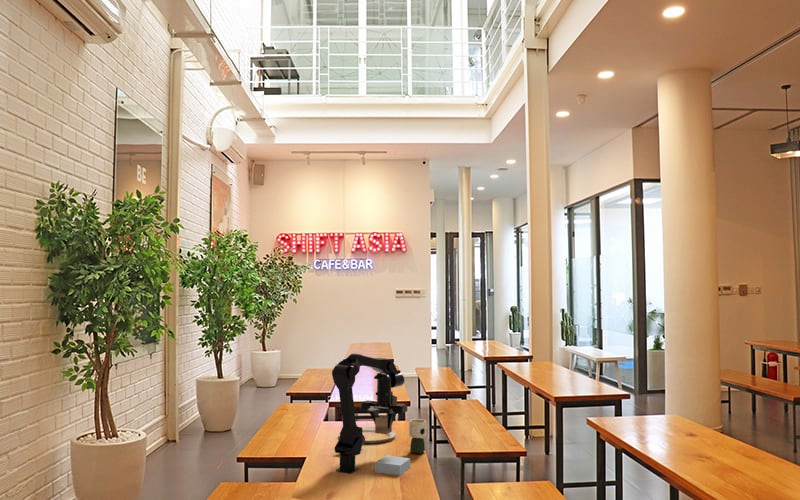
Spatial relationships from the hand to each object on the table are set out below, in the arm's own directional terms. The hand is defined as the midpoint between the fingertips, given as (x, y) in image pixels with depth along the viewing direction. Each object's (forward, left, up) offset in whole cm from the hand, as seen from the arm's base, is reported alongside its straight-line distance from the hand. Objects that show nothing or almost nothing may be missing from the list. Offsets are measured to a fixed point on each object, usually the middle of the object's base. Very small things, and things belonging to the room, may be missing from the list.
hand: (383, 428), depth 251 cm
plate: (+25, +20, -12) cm, 35 cm away
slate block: (-14, -11, -12) cm, 21 cm away
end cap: (+2, +15, -12) cm, 19 cm away
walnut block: (0, 0, -2) cm, 2 cm away
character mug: (+12, -10, -12) cm, 20 cm away
